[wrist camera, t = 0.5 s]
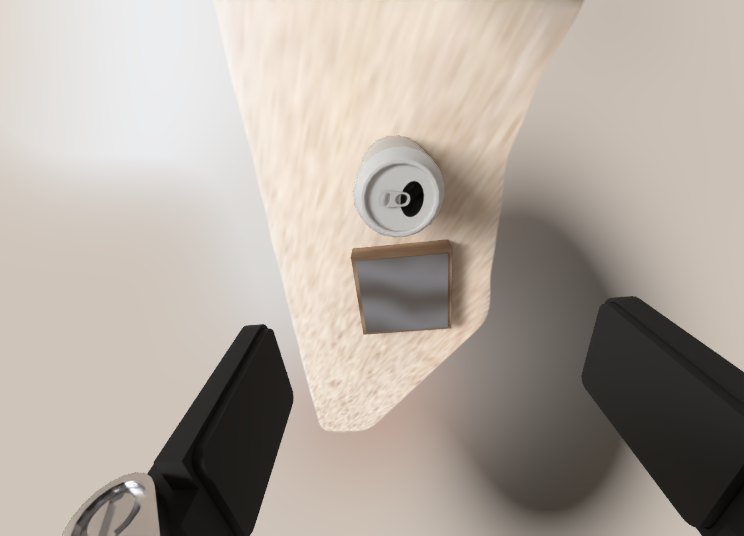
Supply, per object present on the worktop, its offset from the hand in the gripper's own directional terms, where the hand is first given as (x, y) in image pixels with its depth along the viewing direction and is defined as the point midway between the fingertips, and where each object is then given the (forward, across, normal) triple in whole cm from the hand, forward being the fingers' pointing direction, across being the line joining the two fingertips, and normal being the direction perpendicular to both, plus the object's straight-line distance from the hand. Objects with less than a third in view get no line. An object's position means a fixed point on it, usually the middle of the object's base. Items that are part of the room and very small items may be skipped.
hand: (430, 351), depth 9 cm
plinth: (+29, 0, +14) cm, 32 cm away
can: (+28, 0, -1) cm, 29 cm away
